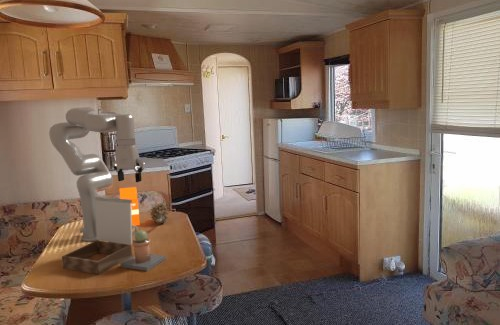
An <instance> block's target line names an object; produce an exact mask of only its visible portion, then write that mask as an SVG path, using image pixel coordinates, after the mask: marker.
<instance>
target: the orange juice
mask: <svg viewBox="0 0 500 325" xmlns="http://www.w3.org/2000/svg"><path fill="white" fill-rule="evenodd" d="M119 199H131V200H132V203H131V213H132V225H135V226H139V225H141V224H140V210H139V201H138V192H137V186H133V187H121V188H119Z"/></svg>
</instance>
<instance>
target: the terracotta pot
mask: <svg viewBox="0 0 500 325" xmlns="http://www.w3.org/2000/svg"><path fill="white" fill-rule="evenodd" d="M150 244H151V239H150V238H149V237H148V235H147V232H146V231H145V230H143V229H142V230H137V232H136V233H135V234H134V239H132V247H133V248H134V249H133V250H134V255H135V261H136V262H146V261H149V260H150V259H151V258H150V254H151V248H150Z"/></svg>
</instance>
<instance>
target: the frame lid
mask: <svg viewBox="0 0 500 325" xmlns="http://www.w3.org/2000/svg"><path fill="white" fill-rule="evenodd" d="M95 201H96V233H97V241H104V242H108V241H109V242H116V243H124V244H127V245H133V236H132V233H133V228H132V213H131V203H132V200H131V199H120V198H118V197H116V198H115V197H104V196H103V197H102V196H99V197H95Z"/></svg>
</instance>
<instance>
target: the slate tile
mask: <svg viewBox="0 0 500 325" xmlns="http://www.w3.org/2000/svg"><path fill="white" fill-rule="evenodd" d="M150 258H151V259H150V260H149V261H146V262H136V261H135V254H134V255H132V257H130V258H128V259H126V260H125V261H123V262H121V263H119V264H120V268H125V269H126V268H127V269H133V270H140V271H144V272H148V271H150V270H151V269H154V267H156V266H158V265H159V264H161V263H162V262H164V261H165V260H166V255H162V254H161V255H160V254H153V253H150ZM160 262H161V263H160ZM157 264H158V265H157Z"/></svg>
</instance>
